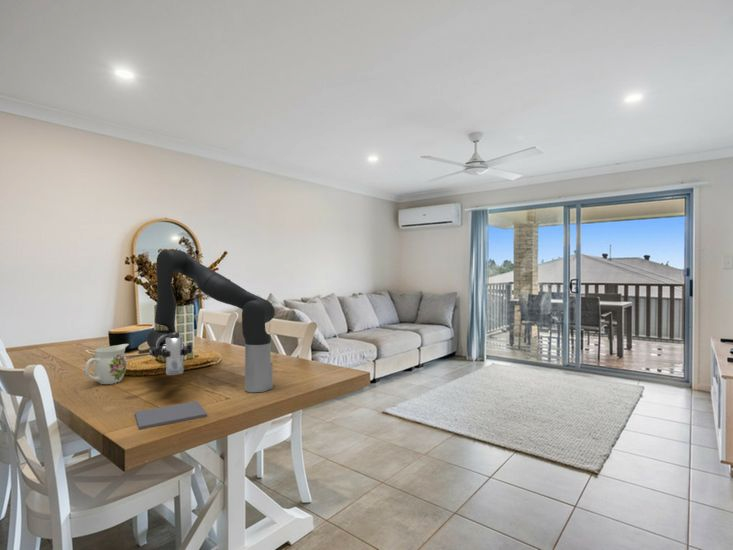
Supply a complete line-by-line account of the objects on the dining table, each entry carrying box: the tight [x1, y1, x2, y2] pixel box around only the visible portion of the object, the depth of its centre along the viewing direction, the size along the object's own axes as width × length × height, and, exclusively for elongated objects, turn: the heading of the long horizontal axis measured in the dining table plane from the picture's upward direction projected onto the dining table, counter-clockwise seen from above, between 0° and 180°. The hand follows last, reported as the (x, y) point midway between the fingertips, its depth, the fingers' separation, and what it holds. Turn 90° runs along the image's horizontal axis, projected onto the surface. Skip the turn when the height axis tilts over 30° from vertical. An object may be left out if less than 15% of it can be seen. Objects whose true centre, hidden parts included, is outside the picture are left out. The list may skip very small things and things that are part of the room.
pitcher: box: [84, 343, 130, 385], centre depth 155 cm, size 11×18×14 cm, turn 162°
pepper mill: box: [165, 331, 184, 376], centre depth 134 cm, size 5×5×14 cm
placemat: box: [134, 400, 208, 430], centre depth 122 cm, size 18×14×1 cm
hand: (175, 353), depth 132 cm, fingers closed on pepper mill, 5 cm apart
